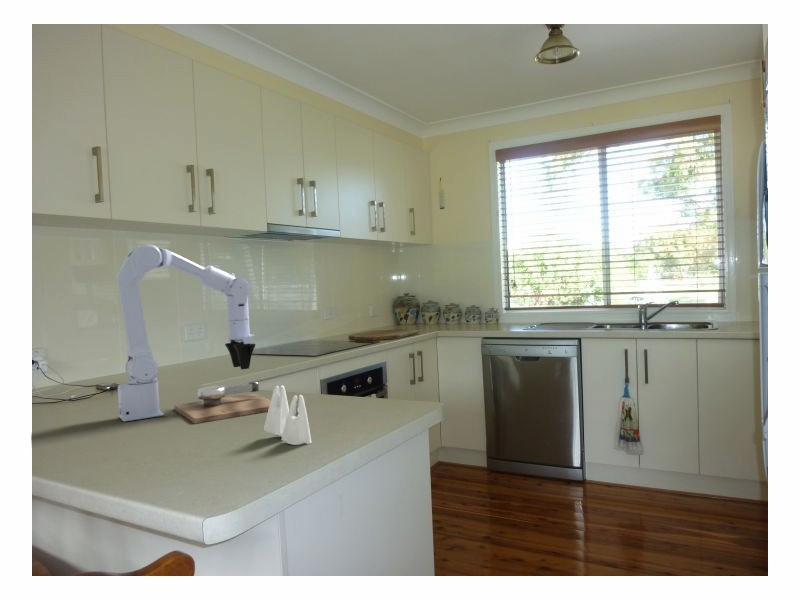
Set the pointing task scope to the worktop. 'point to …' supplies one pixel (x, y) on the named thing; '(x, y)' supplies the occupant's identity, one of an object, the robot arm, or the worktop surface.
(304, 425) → the white slotted stand
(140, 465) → the worktop surface
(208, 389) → the grey lever with knob
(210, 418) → the post board
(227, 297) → the robot arm
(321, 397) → the worktop surface
